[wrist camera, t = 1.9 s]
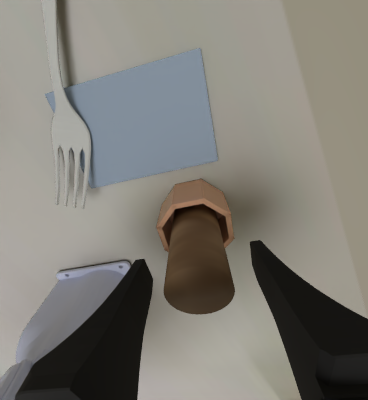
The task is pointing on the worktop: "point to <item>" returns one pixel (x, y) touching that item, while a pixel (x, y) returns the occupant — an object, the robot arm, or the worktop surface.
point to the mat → (145, 119)
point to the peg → (197, 263)
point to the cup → (191, 196)
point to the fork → (64, 116)
